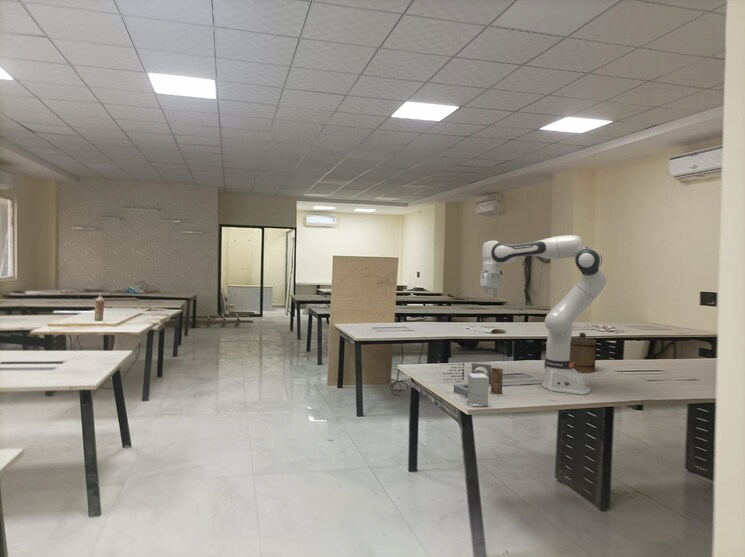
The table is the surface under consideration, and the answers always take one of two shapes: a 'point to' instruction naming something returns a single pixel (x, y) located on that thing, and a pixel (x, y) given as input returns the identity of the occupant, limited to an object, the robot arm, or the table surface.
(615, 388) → the table surface
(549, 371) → the robot arm
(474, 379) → the supplement box
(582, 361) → the wooden container
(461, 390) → the slate socket
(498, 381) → the walnut peg
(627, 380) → the table surface
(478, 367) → the voltmeter
